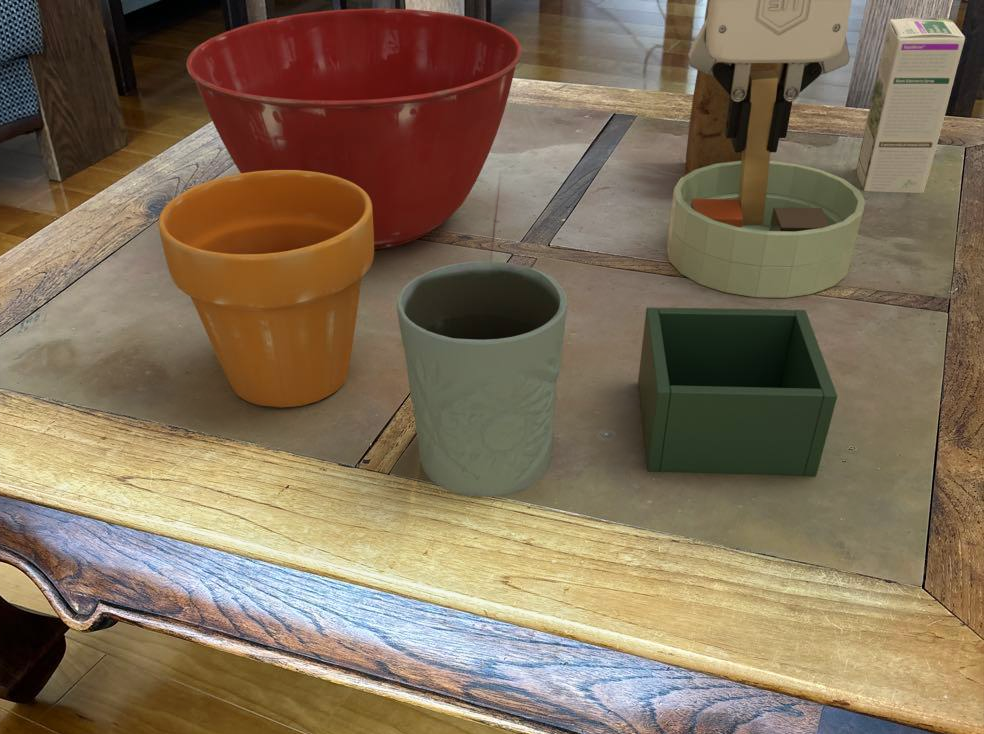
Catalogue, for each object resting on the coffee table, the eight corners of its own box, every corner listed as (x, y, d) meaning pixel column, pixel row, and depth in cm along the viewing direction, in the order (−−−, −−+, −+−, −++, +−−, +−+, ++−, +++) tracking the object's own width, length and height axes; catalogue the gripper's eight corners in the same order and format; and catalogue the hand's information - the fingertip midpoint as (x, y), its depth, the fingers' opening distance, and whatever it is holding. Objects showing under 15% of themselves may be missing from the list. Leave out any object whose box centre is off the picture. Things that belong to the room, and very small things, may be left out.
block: (758, 209, 97) (800, -27, 84) (678, 204, 98) (707, -29, 85) (760, 167, 105) (799, -55, 92) (686, 162, 106) (714, -57, 93)
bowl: (828, 226, 94) (843, 160, 90) (865, 306, 82) (884, 235, 78) (660, 224, 95) (667, 159, 91) (673, 303, 84) (683, 233, 80)
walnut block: (812, 252, 88) (821, 207, 86) (820, 273, 85) (831, 228, 83) (764, 251, 89) (773, 207, 86) (772, 273, 86) (781, 227, 83)
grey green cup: (517, 528, 63) (521, 357, 55) (377, 482, 67) (362, 316, 59) (582, 442, 69) (595, 278, 61) (451, 404, 73) (447, 246, 65)
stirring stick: (760, 215, 89) (774, 69, 81) (763, 224, 87) (778, 77, 80) (736, 216, 89) (748, 71, 81) (739, 226, 88) (751, 79, 80)
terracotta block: (732, 243, 90) (739, 199, 88) (735, 263, 87) (743, 218, 85) (686, 241, 91) (692, 197, 88) (687, 262, 88) (693, 217, 85)
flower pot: (230, 323, 83) (201, 164, 74) (401, 334, 81) (391, 172, 72) (165, 422, 72) (122, 249, 64) (360, 438, 70) (342, 261, 62)
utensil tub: (786, 392, 73) (805, 309, 69) (814, 483, 65) (837, 396, 61) (637, 389, 74) (646, 306, 70) (646, 478, 66) (657, 391, 62)
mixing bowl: (297, 152, 111) (279, -5, 101) (552, 179, 104) (559, 13, 94) (161, 265, 91) (120, 84, 81) (463, 309, 84) (460, 116, 74)
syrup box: (924, 198, 98) (971, 35, 88) (859, 196, 98) (899, 34, 89) (913, 175, 102) (957, 17, 92) (851, 173, 103) (888, 16, 93)
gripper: (685, -104, 70) (658, 164, 82) (926, -110, 69) (862, 164, 81) (677, -122, 76) (652, 131, 88) (899, -128, 74) (843, 130, 86)
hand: (753, 144), depth 84 cm, fingers closed on stirring stick, 2 cm apart
